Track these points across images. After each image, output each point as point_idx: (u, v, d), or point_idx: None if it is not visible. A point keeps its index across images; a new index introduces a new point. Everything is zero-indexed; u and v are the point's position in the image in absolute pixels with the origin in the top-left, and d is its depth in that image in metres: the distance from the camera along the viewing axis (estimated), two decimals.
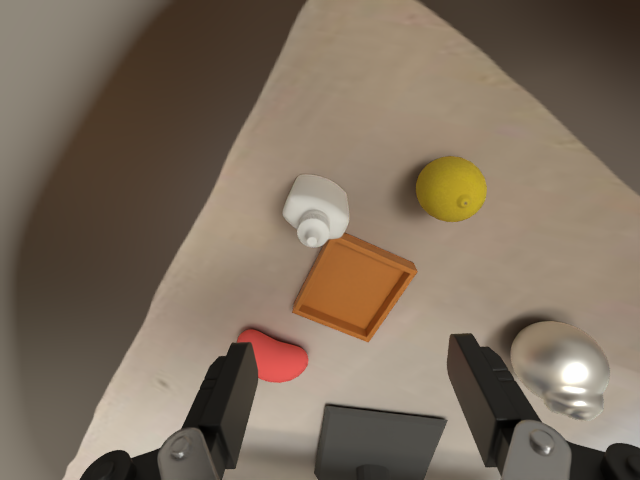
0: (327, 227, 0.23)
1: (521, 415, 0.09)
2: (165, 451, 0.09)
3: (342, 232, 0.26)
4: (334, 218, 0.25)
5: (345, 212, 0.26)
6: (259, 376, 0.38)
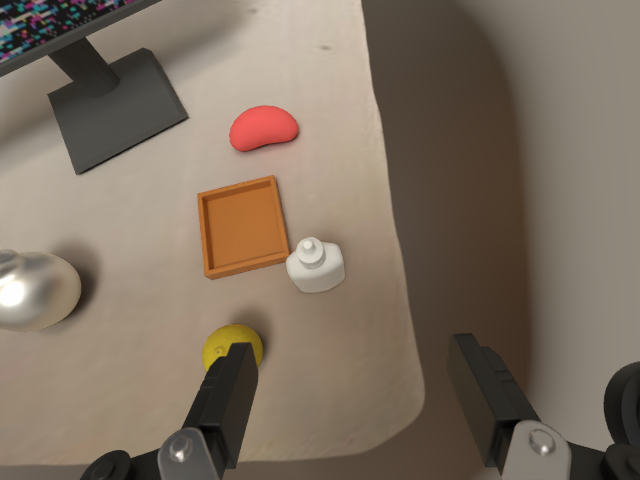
0: (303, 261, 0.27)
1: (521, 415, 0.09)
2: (165, 451, 0.09)
3: (287, 264, 0.30)
4: (301, 270, 0.29)
5: (296, 279, 0.30)
6: (261, 108, 0.41)
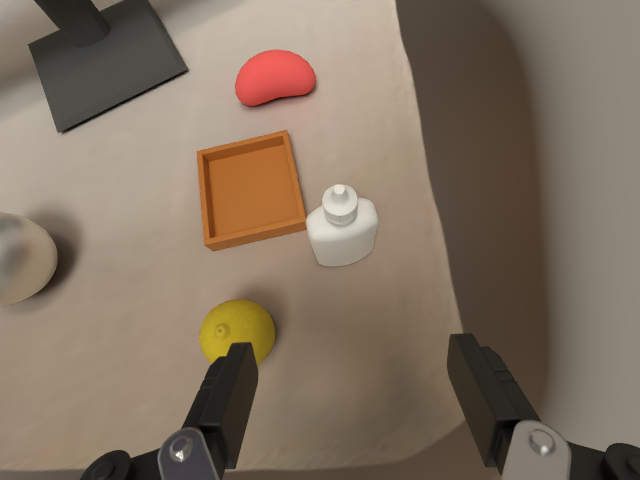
0: (331, 213, 0.21)
1: (521, 415, 0.09)
2: (165, 451, 0.09)
3: (308, 223, 0.24)
4: (326, 229, 0.23)
5: (318, 243, 0.24)
6: (273, 51, 0.34)
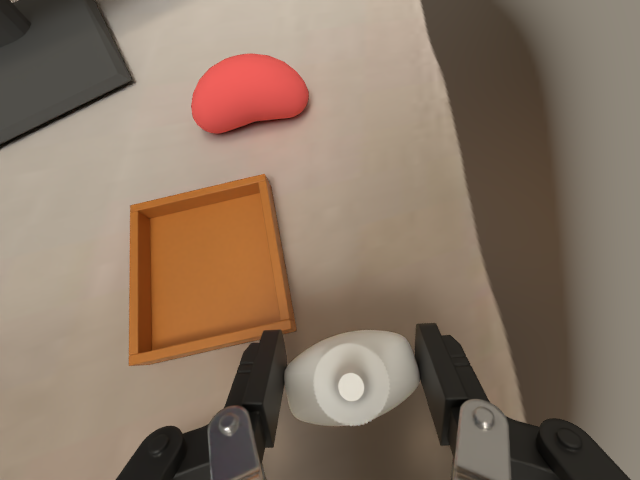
0: (333, 418, 0.09)
1: (471, 396, 0.10)
2: (215, 423, 0.09)
3: (288, 387, 0.13)
4: (322, 410, 0.12)
5: None
6: (244, 56, 0.23)
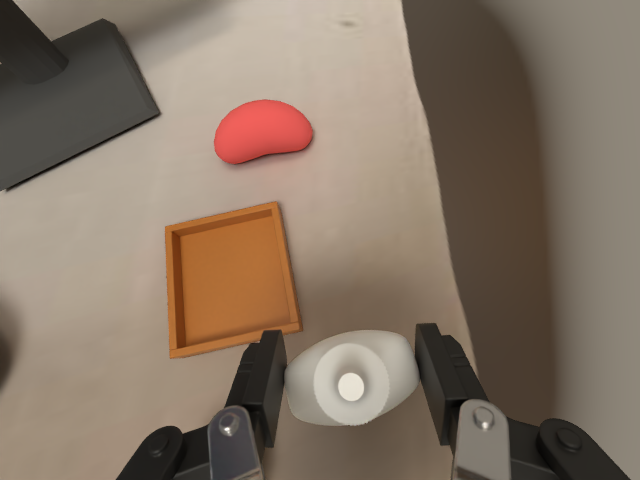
0: (333, 418, 0.09)
1: (471, 396, 0.10)
2: (215, 423, 0.09)
3: (287, 386, 0.13)
4: (322, 410, 0.12)
5: None
6: (259, 103, 0.28)
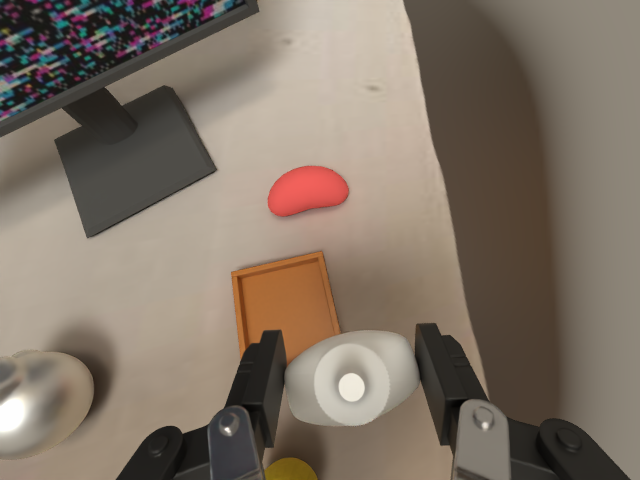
0: (333, 418, 0.09)
1: (471, 396, 0.10)
2: (215, 423, 0.09)
3: (288, 386, 0.13)
4: (322, 410, 0.12)
5: None
6: (307, 170, 0.34)
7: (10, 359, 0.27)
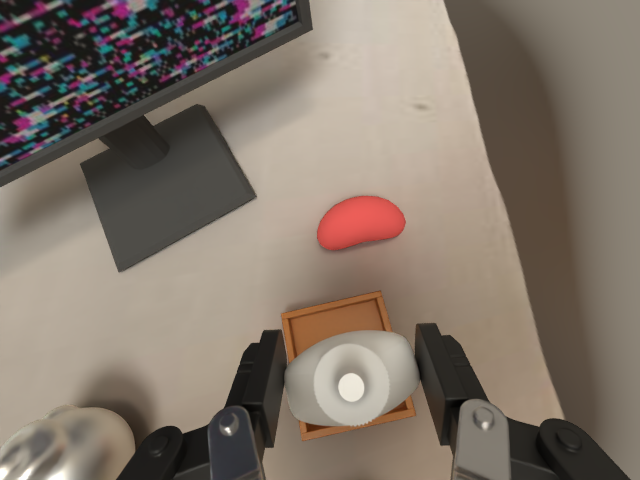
0: (333, 418, 0.09)
1: (471, 396, 0.10)
2: (215, 423, 0.09)
3: (288, 387, 0.13)
4: (322, 410, 0.12)
5: None
6: (364, 202, 0.31)
7: (48, 424, 0.24)
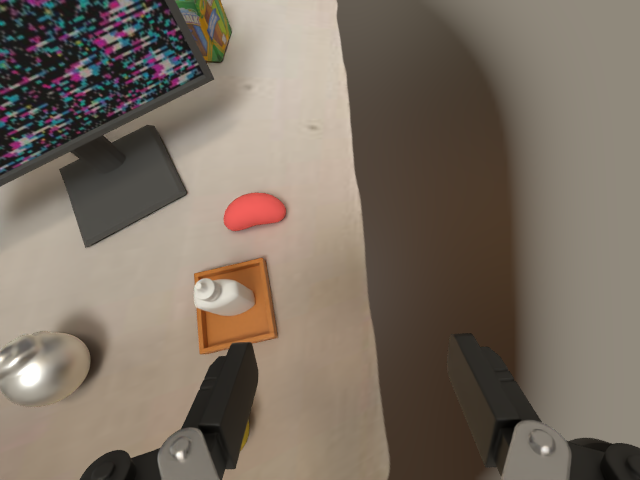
0: (198, 297, 0.34)
1: (521, 415, 0.09)
2: (165, 451, 0.09)
3: None
4: (202, 302, 0.37)
5: (201, 309, 0.38)
6: (252, 197, 0.45)
7: (30, 336, 0.38)
